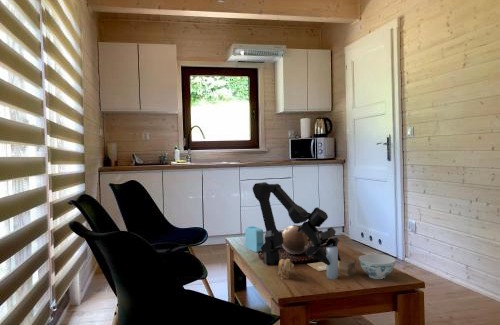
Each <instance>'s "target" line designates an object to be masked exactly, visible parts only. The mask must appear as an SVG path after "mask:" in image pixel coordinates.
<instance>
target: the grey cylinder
mask: <svg viewBox="0 0 500 325" xmlns="http://www.w3.org/2000/svg"><path fill="white" fill-rule="evenodd" d="M325 249H326V250H325V253H326V254H325V256H326V257H327V259H328V260H329V262H330V265H327V264H326V270H325V272H326V273H325V275H326V279H329V280H338V279H339V269H338V253H339V249H338V246H337V247H336V246H327V247H326V248H325Z"/></svg>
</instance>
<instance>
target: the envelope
mask: <svg viewBox="0 0 500 325" xmlns="http://www.w3.org/2000/svg"><path fill="white" fill-rule="evenodd" d="M339 262H341V260H340V261H338V270H339ZM307 265H308V266H310V267H311V268H313V269H314V270H317V271H318V272H323V271H325V272H326V264H325V263H323V262H321V261H318V262H313V263H311V262H310V263H307Z"/></svg>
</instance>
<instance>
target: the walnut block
mask: <svg viewBox="0 0 500 325" xmlns="http://www.w3.org/2000/svg"><path fill="white" fill-rule="evenodd" d="M356 267H357V266H356V262H355V261H351V260H350V259H349V260H348V259H345V260H342V261H341V260H340V262H339V269H338V274H341V275H344V276H347V277H348V276H352V275H355V274H356V270H357V268H356Z"/></svg>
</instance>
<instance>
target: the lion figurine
mask: <svg viewBox="0 0 500 325" xmlns="http://www.w3.org/2000/svg"><path fill="white" fill-rule="evenodd" d="M294 266H295V264H294V263H293V262H292V261H291V259H290V258H286V259H284V258H281V259H280V261H279V264H278V273H277V275H278V276H280V280H284V278H285V277H286V279H290V276H289V273H290V271H291V269H293V268H294ZM284 274H285V277H284Z"/></svg>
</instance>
